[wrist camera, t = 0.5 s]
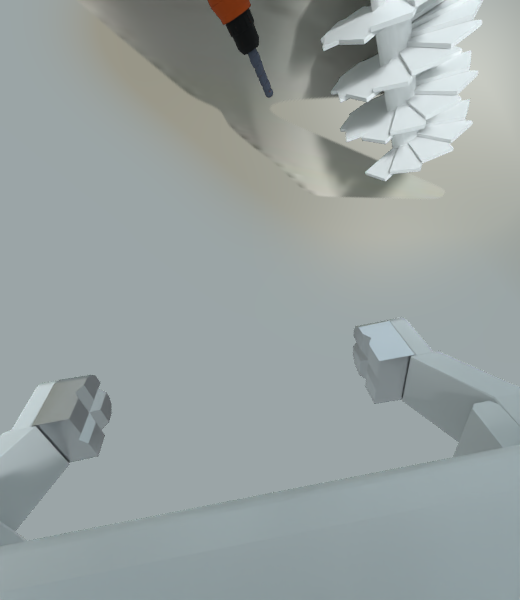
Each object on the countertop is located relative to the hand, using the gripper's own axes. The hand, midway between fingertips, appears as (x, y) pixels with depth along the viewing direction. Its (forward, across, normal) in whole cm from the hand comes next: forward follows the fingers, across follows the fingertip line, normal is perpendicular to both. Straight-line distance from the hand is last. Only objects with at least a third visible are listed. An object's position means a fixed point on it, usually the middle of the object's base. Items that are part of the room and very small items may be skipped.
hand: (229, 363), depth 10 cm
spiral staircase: (+50, -25, -10) cm, 57 cm away
